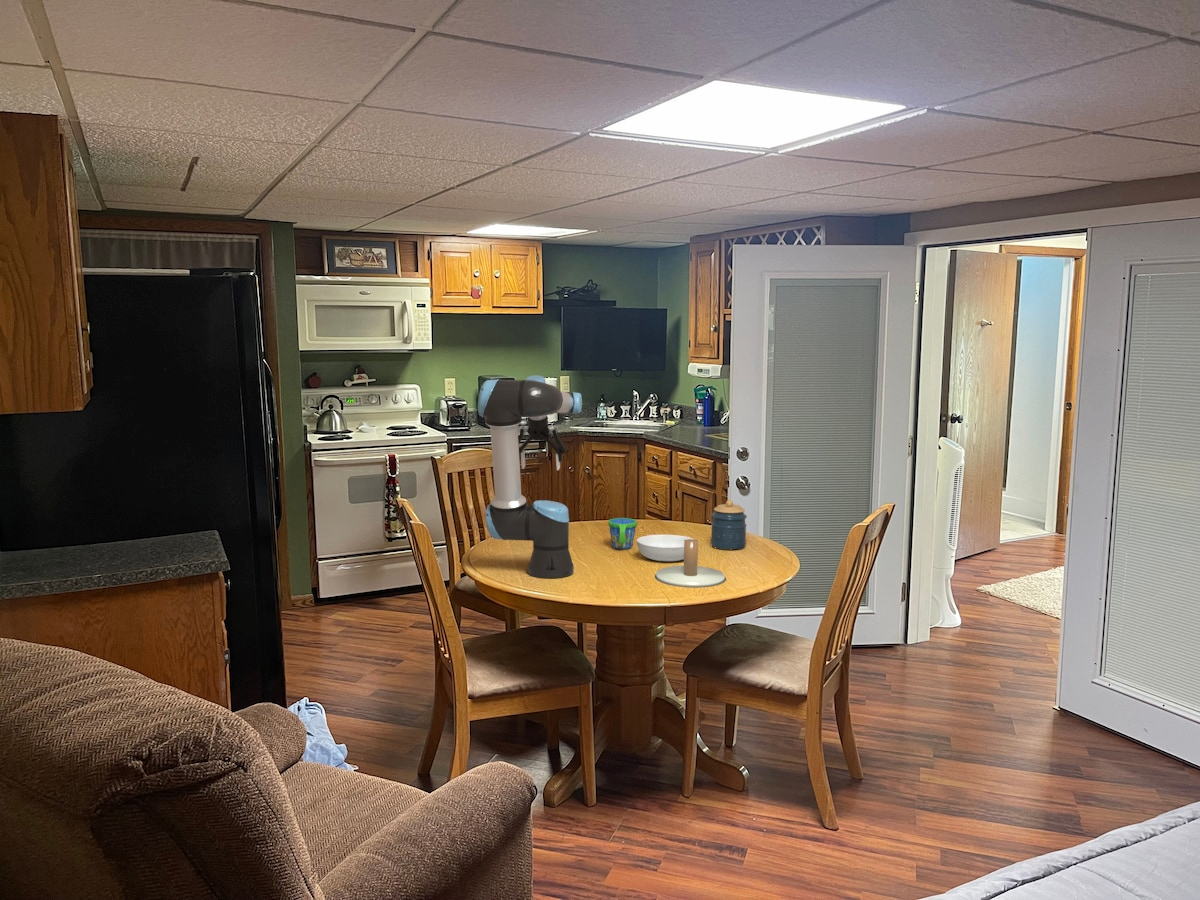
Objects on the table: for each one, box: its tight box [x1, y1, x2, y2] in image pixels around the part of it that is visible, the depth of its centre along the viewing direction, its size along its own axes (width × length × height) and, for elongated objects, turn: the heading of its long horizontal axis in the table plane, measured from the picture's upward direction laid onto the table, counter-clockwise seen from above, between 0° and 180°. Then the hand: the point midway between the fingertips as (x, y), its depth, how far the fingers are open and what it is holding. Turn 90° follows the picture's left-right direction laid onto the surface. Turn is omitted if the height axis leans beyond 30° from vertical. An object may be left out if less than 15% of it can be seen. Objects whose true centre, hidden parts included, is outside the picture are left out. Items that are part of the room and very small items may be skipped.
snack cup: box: [607, 517, 638, 550], centre depth 325 cm, size 16×10×10 cm
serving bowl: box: [636, 534, 696, 563], centre depth 309 cm, size 21×21×7 cm
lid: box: [655, 538, 726, 588], centre depth 284 cm, size 22×22×12 cm
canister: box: [710, 499, 748, 550], centre depth 328 cm, size 13×13×18 cm
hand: (541, 468), depth 337 cm, fingers open, 13 cm apart
